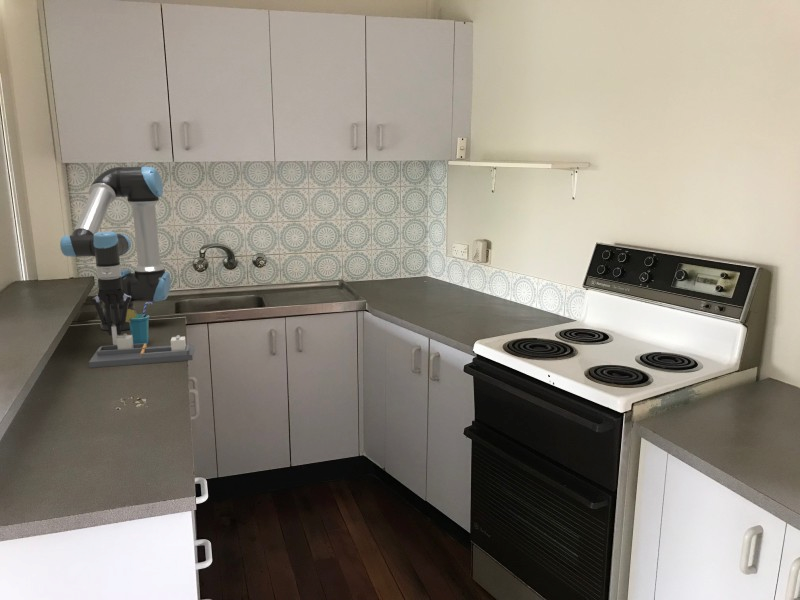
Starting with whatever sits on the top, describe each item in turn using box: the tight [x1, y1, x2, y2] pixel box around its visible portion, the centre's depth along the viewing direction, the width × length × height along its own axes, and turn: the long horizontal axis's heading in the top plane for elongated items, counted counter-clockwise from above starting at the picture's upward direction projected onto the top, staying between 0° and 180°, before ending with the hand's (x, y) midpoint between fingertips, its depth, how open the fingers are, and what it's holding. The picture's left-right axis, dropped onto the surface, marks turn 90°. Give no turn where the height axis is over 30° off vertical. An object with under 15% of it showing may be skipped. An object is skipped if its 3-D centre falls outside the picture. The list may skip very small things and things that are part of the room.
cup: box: [126, 301, 154, 345], centre depth 251 cm, size 14×8×15 cm, turn 157°
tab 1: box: [117, 333, 134, 349], centre depth 236 cm, size 4×4×6 cm
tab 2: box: [170, 334, 187, 351], centre depth 233 cm, size 4×4×6 cm
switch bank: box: [88, 343, 196, 369], centre depth 234 cm, size 14×33×4 cm, turn 104°
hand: (116, 343), depth 235 cm, fingers closed
